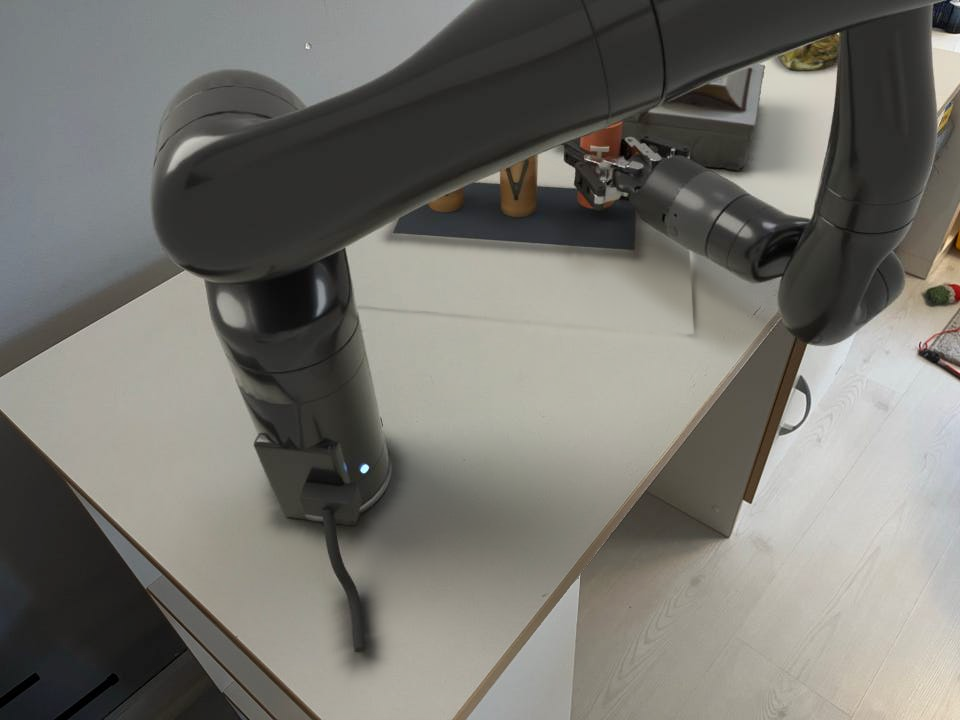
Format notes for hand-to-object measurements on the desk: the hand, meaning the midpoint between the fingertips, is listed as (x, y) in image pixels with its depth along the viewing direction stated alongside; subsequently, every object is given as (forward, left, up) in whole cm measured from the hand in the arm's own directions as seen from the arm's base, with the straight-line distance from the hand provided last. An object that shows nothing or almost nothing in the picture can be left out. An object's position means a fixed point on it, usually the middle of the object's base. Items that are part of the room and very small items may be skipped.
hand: (583, 143), depth 82 cm
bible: (+21, -10, -9) cm, 25 cm away
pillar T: (-2, -2, -6) cm, 7 cm away
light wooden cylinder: (-2, +7, -8) cm, 11 cm away
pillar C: (-2, +16, -8) cm, 18 cm away
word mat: (-3, +7, -8) cm, 11 cm away
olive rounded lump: (+48, -34, -9) cm, 59 cm away
